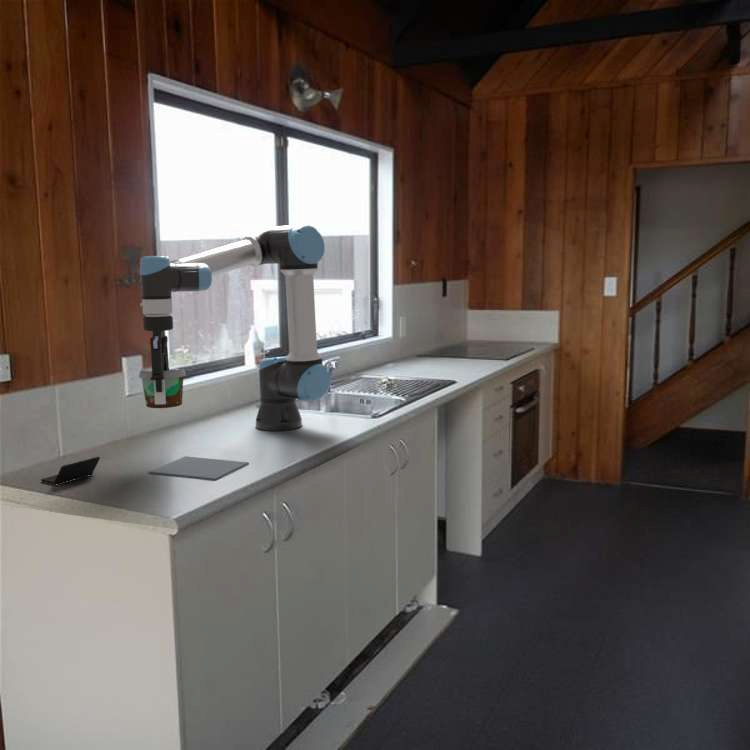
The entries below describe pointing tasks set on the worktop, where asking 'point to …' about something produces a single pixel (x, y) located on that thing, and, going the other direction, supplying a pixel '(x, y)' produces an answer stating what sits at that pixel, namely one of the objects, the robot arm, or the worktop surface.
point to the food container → (171, 388)
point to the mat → (199, 468)
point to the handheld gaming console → (73, 471)
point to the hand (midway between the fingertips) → (162, 401)
